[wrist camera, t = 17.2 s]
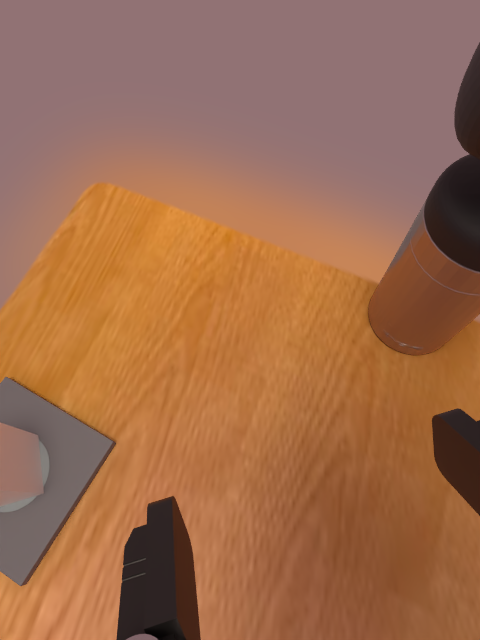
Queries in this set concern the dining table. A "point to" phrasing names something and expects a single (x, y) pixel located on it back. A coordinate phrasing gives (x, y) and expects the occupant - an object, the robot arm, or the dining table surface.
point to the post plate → (45, 477)
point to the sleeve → (19, 465)
